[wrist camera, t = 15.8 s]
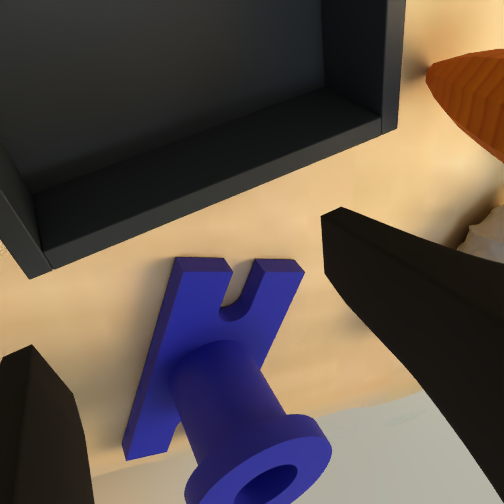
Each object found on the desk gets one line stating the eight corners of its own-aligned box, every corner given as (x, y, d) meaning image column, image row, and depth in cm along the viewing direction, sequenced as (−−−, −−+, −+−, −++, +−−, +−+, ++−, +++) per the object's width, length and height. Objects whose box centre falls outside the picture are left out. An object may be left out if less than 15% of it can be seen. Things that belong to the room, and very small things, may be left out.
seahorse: (513, 67, 23) (387, 369, 31) (676, 113, 26) (524, 382, 33) (457, 64, 28) (360, 328, 36) (601, 104, 31) (482, 342, 38)
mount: (221, 423, 33) (276, 543, 27) (121, 444, 29) (158, 589, 23) (294, 259, 26) (390, 370, 20) (175, 256, 22) (249, 393, 16)
